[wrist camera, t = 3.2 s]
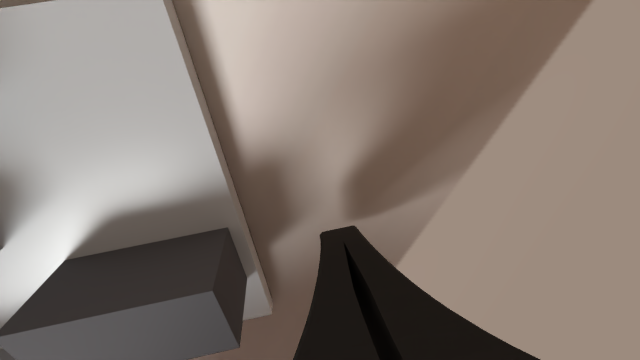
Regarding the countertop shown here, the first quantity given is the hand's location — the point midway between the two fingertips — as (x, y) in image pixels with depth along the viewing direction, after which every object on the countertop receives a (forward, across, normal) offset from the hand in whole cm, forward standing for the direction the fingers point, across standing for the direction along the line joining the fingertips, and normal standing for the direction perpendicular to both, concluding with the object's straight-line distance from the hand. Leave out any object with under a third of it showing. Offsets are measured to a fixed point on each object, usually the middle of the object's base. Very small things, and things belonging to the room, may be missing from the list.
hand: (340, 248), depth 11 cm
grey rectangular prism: (+1, +7, 0) cm, 7 cm away
